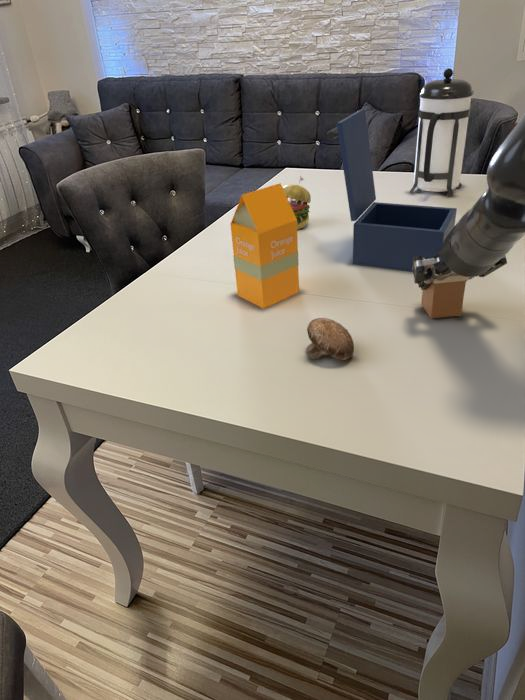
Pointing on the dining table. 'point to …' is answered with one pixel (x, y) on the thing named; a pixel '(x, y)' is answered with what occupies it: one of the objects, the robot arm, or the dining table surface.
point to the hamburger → (298, 202)
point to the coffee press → (442, 134)
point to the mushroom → (329, 340)
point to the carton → (444, 297)
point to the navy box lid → (356, 162)
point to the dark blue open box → (400, 234)
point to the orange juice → (265, 247)
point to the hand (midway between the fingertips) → (439, 282)
